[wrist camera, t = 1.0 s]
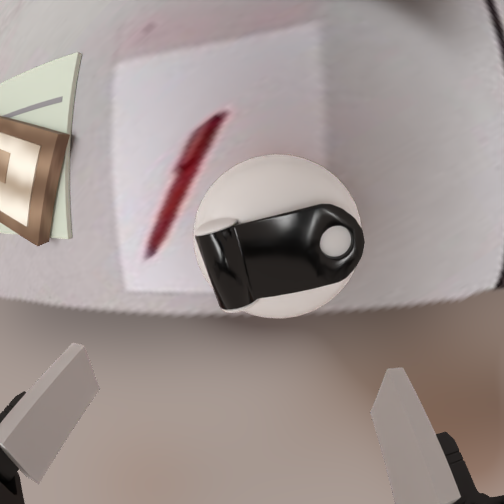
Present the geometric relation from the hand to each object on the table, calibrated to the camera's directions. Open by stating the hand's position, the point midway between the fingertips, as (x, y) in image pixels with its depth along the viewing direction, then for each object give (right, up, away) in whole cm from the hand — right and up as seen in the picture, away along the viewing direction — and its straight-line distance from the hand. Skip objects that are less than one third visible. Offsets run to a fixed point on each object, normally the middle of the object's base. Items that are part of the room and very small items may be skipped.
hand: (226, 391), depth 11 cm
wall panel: (-37, +21, +20) cm, 47 cm away
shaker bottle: (+4, +11, +21) cm, 24 cm away
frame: (-35, +17, +20) cm, 44 cm away
